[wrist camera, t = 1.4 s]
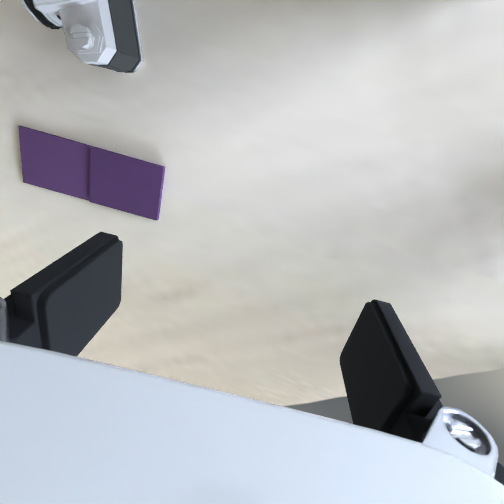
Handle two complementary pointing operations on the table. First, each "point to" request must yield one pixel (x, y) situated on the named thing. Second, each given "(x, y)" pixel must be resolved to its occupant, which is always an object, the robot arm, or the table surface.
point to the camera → (94, 30)
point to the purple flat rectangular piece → (91, 173)
